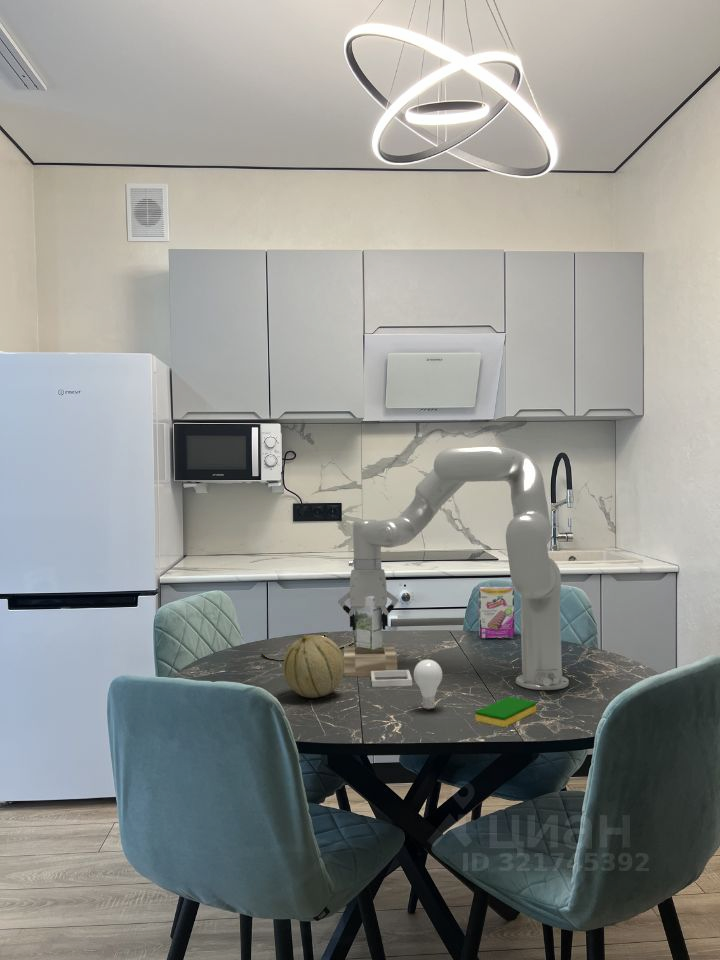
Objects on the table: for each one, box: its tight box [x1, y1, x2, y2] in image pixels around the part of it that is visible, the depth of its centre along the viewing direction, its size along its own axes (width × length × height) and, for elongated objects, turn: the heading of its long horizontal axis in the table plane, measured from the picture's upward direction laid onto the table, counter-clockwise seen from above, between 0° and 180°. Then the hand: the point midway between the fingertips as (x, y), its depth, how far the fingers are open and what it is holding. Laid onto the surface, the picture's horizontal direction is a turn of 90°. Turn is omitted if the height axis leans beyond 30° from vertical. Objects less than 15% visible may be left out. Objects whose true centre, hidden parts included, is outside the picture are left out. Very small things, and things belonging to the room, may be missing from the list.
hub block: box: [343, 644, 398, 677], centre depth 203 cm, size 14×14×5 cm
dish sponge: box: [475, 696, 537, 728], centre depth 159 cm, size 7×14×2 cm, turn 139°
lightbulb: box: [413, 659, 443, 711], centre depth 165 cm, size 6×6×11 cm
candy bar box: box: [478, 586, 515, 639], centre depth 239 cm, size 11×5×16 cm, turn 84°
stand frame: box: [370, 669, 413, 688], centre depth 190 cm, size 10×10×2 cm
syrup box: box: [354, 596, 383, 650], centre depth 203 cm, size 6×6×14 cm
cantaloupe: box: [282, 634, 345, 699], centre depth 177 cm, size 15×15×15 cm
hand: (368, 628), depth 203 cm, fingers closed on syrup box, 7 cm apart
